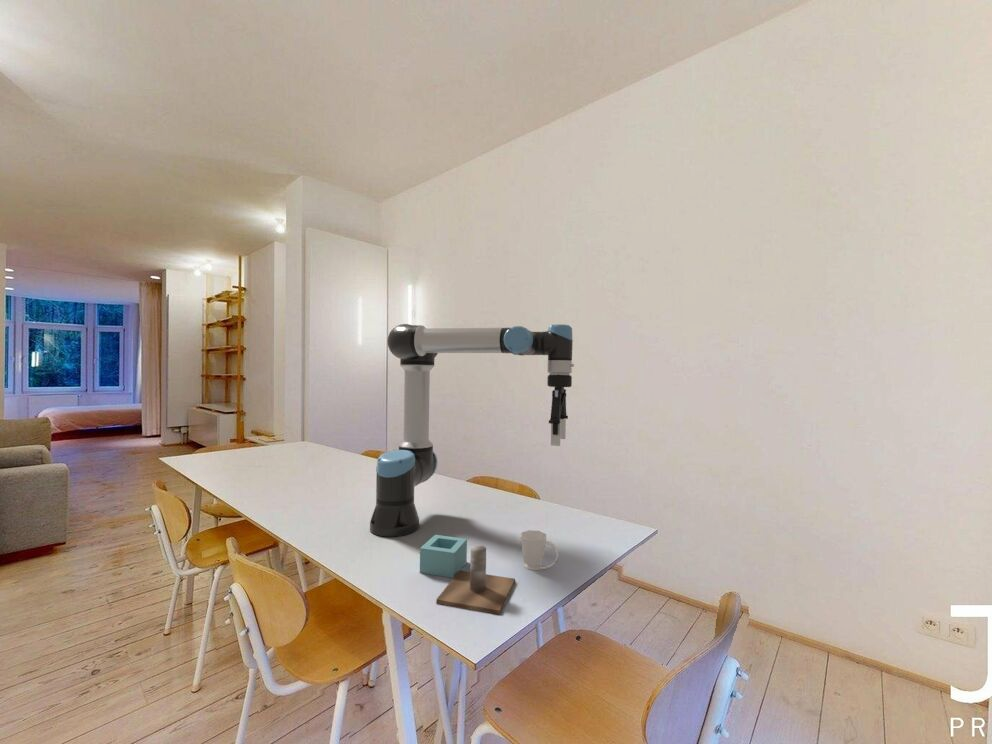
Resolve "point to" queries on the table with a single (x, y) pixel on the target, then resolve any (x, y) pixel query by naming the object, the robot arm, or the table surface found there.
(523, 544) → the cup
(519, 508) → the table surface
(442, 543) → the collar
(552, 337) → the robot arm
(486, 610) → the post stand
